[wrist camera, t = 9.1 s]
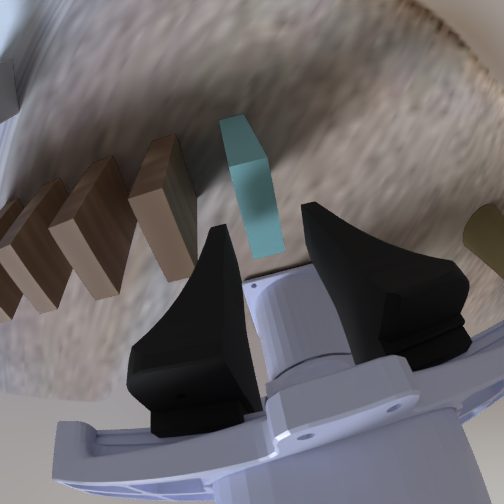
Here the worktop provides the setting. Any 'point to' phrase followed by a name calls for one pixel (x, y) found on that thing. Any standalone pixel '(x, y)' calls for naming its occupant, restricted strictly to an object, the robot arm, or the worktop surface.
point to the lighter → (7, 91)
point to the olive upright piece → (487, 237)
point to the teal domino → (252, 187)
